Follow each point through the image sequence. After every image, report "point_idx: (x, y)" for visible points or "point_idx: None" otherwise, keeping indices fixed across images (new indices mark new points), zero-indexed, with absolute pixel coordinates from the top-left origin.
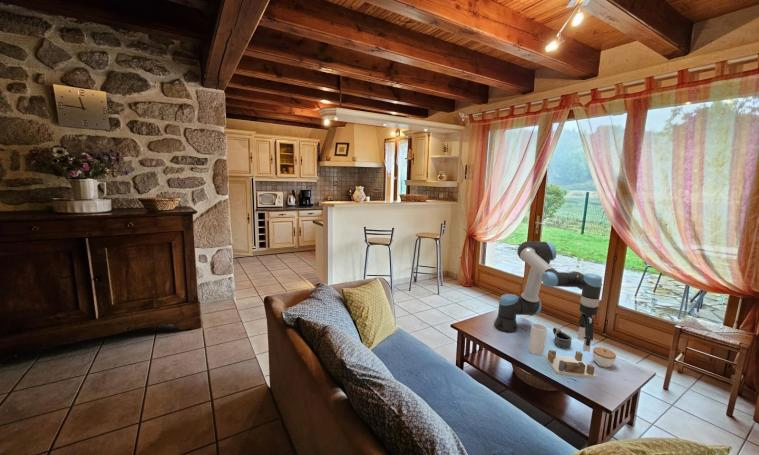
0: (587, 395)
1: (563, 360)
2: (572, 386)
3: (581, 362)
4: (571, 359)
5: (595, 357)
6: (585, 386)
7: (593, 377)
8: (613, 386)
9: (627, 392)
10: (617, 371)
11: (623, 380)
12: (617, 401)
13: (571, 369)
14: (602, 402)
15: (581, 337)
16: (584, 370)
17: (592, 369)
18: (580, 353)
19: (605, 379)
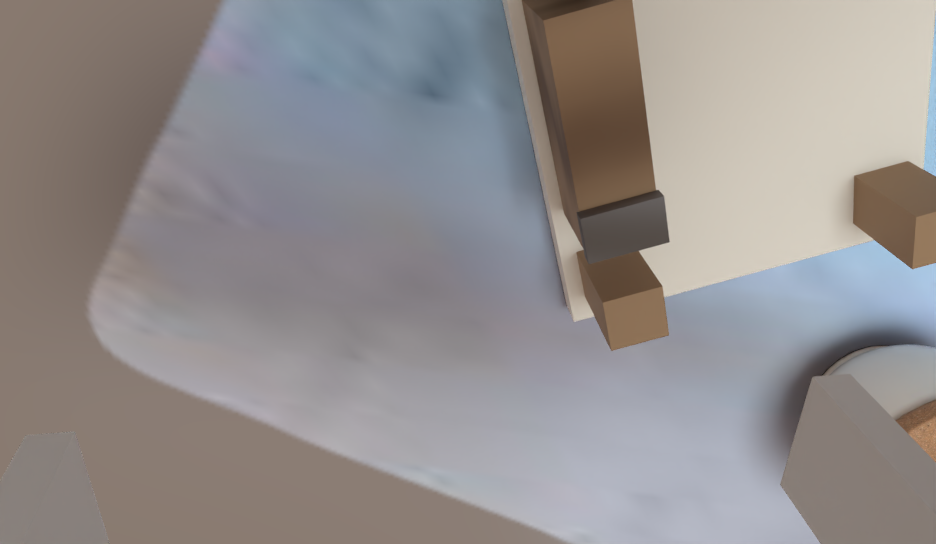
0: (163, 178)
1: (822, 9)
2: (260, 40)
3: (661, 228)
4: (871, 117)
5: (893, 376)
6: (349, 185)
7: (563, 286)
8: (489, 415)
9: (442, 489)
10: (767, 474)
11: (629, 491)
12: (238, 408)
13: (542, 77)
14: (125, 294)
15: (825, 479)
16: (574, 229)
17: (600, 316)
18: (923, 246)
19: (587, 375)
